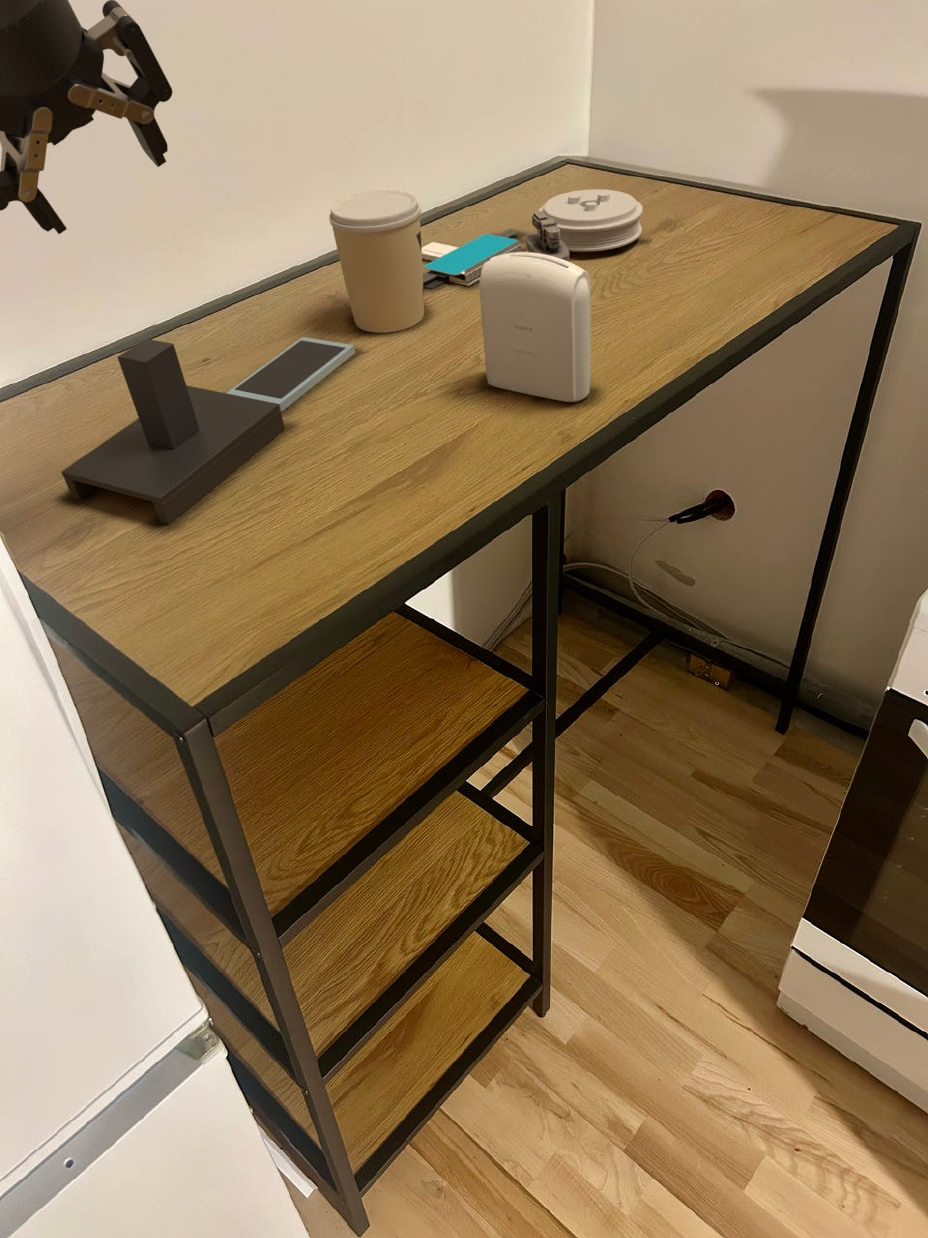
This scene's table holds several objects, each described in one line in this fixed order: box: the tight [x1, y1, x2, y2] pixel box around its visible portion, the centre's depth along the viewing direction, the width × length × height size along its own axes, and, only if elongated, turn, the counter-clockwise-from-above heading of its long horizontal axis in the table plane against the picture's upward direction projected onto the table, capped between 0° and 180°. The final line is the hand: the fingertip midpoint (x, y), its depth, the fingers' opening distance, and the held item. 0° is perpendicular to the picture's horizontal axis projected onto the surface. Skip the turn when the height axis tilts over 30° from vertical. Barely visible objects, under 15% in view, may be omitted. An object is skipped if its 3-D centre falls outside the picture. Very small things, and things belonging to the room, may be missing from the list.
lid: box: [537, 188, 644, 253], centre depth 112 cm, size 13×13×5 cm
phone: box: [226, 336, 356, 413], centre depth 92 cm, size 13×6×1 cm, turn 152°
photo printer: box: [478, 252, 592, 403], centre depth 82 cm, size 10×4×12 cm, turn 57°
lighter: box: [525, 210, 570, 262], centre depth 95 cm, size 8×3×10 cm, turn 14°
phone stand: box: [421, 228, 528, 290], centre depth 112 cm, size 20×12×2 cm, turn 141°
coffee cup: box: [328, 189, 425, 334], centre depth 97 cm, size 9×9×12 cm
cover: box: [60, 338, 286, 526], centre depth 78 cm, size 16×11×11 cm
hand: (106, 190), depth 66 cm, fingers open, 8 cm apart
